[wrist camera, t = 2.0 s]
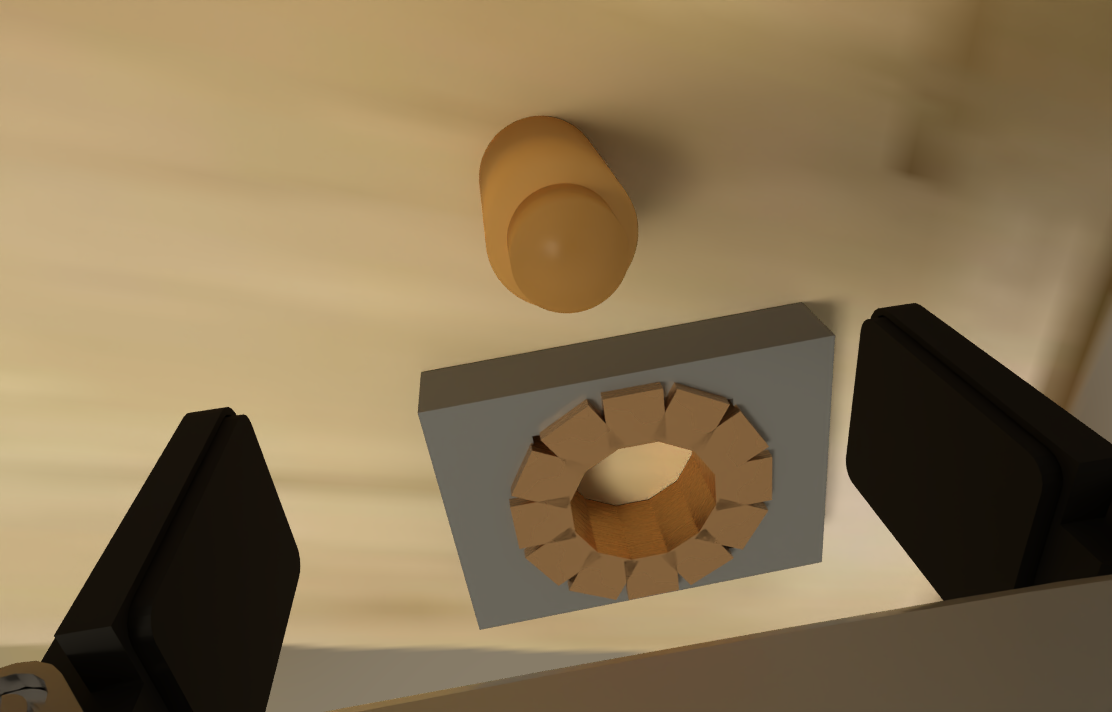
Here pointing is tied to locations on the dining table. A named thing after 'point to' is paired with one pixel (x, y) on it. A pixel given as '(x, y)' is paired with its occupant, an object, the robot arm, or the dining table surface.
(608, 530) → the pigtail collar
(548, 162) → the tan domed cylinder
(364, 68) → the dining table surface
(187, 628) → the robot arm
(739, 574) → the plate
